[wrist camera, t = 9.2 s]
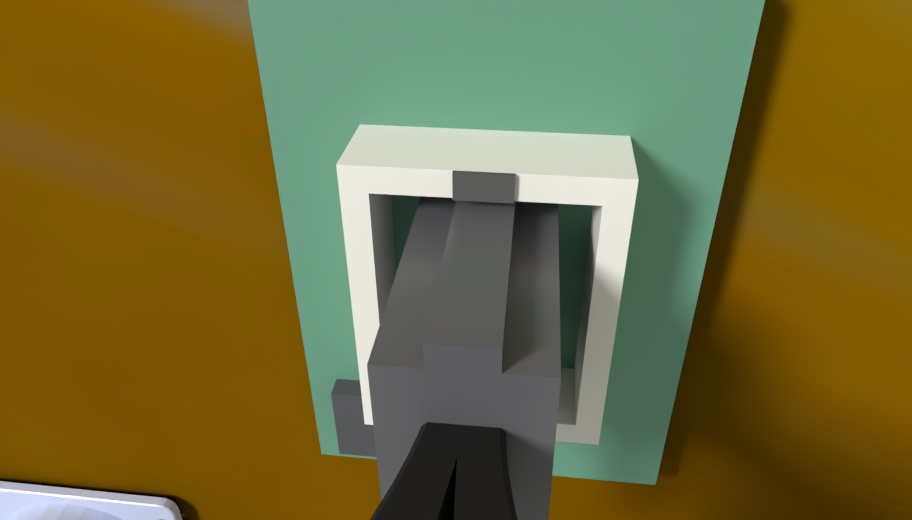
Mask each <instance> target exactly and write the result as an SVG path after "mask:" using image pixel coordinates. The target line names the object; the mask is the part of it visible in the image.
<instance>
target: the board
mask: <svg viewBox="0 0 912 520" xmlns="http://www.w3.org/2000/svg"><path fill="white" fill-rule="evenodd" d="M764 3H765V0H248V5H249V11H250V17H251V24H252V30H253V36H254V42H255V48H256V54H257V60H258V67H259V73H260V79H261V85H262V91H263V97H264V103H265V110H266V116H267V122H268V128H269V134H270V140H271V146H272V153H273V159H274V165H275V171H276V177H277V183H278V189H279V196H280V202H281V208H282V214H283V220H284V226H285V232H286V239H287V245H288V251H289V257H290V263H291V269H292V275H293V282H294V288H295V294H296V300H297V306H298V312H299V318H300V325H301V331H302V337H303V343H304V349H305V355H306V361H307V368H308V374H309V380H310V386H311V392H312V398H313V404H314V411H315V417H316V423H317V429H318V435H319V441H320V447H321V454H327V455H338V456H349V457H360V458H370V459H377V454H376V445H375V436H374V426H373V417H372V408H371V399H370V389H369V380H368V371H367V363H368V360H369V357H370V354H371V351H372V347H373V344H374V341H375V338H376V335H377V332H378V329H379V326H380V322H381V319H382V316H383V313H384V310H385V307H386V304H387V301H388V298H389V294H390V291H391V288H392V285H393V282H394V279H395V276H396V273H397V269H398V266H399V263H400V260H401V257H402V254H403V251H404V248H405V245H406V241H407V238H408V235H409V232H410V229H411V226H412V223H413V220H414V216H415V213H416V210H417V207H418V204H419V201H420V198H421V196H427V197H445V198H453V200H455V201H474V202H492V203H511V204H514V201H520V202H539V203H558V231H559V289H560V347H561V383H560V394H559V405H558V416H557V427H556V438H555V449H554V460H553V471H552V475H553V476H564V477H575V478H585V479H596V480H607V481H618V482H628V483H639V484H650V485H656V481H657V476H658V472H659V467H660V463H661V458H662V454H663V450H664V445H665V441H666V436H667V432H668V427H669V423H670V419H671V414H672V410H673V405H674V401H675V397H676V392H677V388H678V383H679V379H680V374H681V370H682V366H683V361H684V357H685V352H686V348H687V343H688V339H689V335H690V330H691V326H692V321H693V317H694V312H695V308H696V304H697V299H698V295H699V290H700V286H701V281H702V277H703V273H704V268H705V264H706V259H707V255H708V251H709V246H710V242H711V237H712V233H713V228H714V224H715V220H716V215H717V211H718V206H719V202H720V197H721V193H722V189H723V184H724V180H725V175H726V171H727V166H728V162H729V158H730V153H731V149H732V144H733V140H734V136H735V131H736V127H737V122H738V118H739V113H740V109H741V105H742V100H743V96H744V91H745V87H746V82H747V78H748V74H749V69H750V65H751V60H752V56H753V51H754V47H755V43H756V38H757V34H758V29H759V25H760V21H761V16H762V12H763V7H764Z"/></svg>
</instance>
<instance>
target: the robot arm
mask: <svg viewBox="0 0 912 520" xmlns="http://www.w3.org/2000/svg"><path fill="white" fill-rule="evenodd" d="M506 438H507V433H506V432H505V431H503V430H502V429H501V428H496V427H483V426H470V425H458V424H445V423H433V422H427V423H425V424H424V425H422V426H421V428H420V430H419V433H418V435H417V437H416V439H415V441H414V443H413V446H412V448H411V450H410V452H409V454H408V456H407V458H406V459H405V461H404V463H403V465H402V467H401V469H400V471H399V472H398V474H397V476H396V478H395V480H394V481H393V483H392V485H391V486H390V488H389V490H388V491H387V493H386V495H385V496H384V498H383V500H382V501H381V503H380V504H379V506H378V508H377V509H376V511H375V513H374V514H373V516H372V517H371V519H370V520H518V519H517V515H516V510H515V505H514V501H513V495H512V489H511V483H510V477H509V470H508V461H507V443H506ZM0 520H182V517H181V514H180V511H179V508H178V506H177V505H176V503H174V502H173V501H172V500H170V499H167V498H163V497H153V496H143V495H133V494H124V493H114V492H104V491H94V490H84V489H74V488H65V487H55V486H45V485H35V484H25V483H16V482H6V481H0Z"/></svg>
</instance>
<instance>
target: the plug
mask: <svg viewBox="0 0 912 520" xmlns="http://www.w3.org/2000/svg"><path fill="white" fill-rule="evenodd" d="M367 371H368V380H369V389H370V399H371V408H372V417H373V426H374V436H375V445H376V454H377V464H378V473H379V482H380V491H381V501H382V500H383V498H384V496H385V495H386V493H387V491H388V490H389V488H390V486H391V485H392V483H393V481H394V480H395V478H396V476H397V474H398V472H399V471H400V469H401V467H402V465H403V463H404V461H405V459H406V458H407V456H408V454H409V452H410V450H411V448H412V446H413V443H414V441H415V439H416V437H417V435H418V433H419V430H420V428H421V426H422V425H424V424H425V423H427V422H433V423H445V424H458V425H470V426H483V427H496V428H501V429H502V430H503V431H505V432H506V433H507V438H506V443H507V461H508V470H509V477H510V483H511V489H512V495H513V501H514V505H515V510H516V515H517V519H518V520H548V515H549V504H550V493H551V482H552V471H553V460H554V449H555V438H556V427H557V416H558V405H559V394H560V383H561V347H560V289H559V231H558V203H539V202H520V201H514V204H511V203H492V202H474V201H455V200H453V198H445V197H427V196H421V198H420V201H419V204H418V207H417V210H416V213H415V216H414V220H413V223H412V226H411V229H410V232H409V235H408V238H407V241H406V245H405V248H404V251H403V254H402V257H401V260H400V263H399V266H398V269H397V273H396V276H395V279H394V282H393V285H392V288H391V291H390V294H389V298H388V301H387V304H386V307H385V310H384V313H383V316H382V319H381V322H380V326H379V329H378V332H377V335H376V338H375V341H374V344H373V347H372V351H371V354H370V357H369V360H368V363H367Z"/></svg>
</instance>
